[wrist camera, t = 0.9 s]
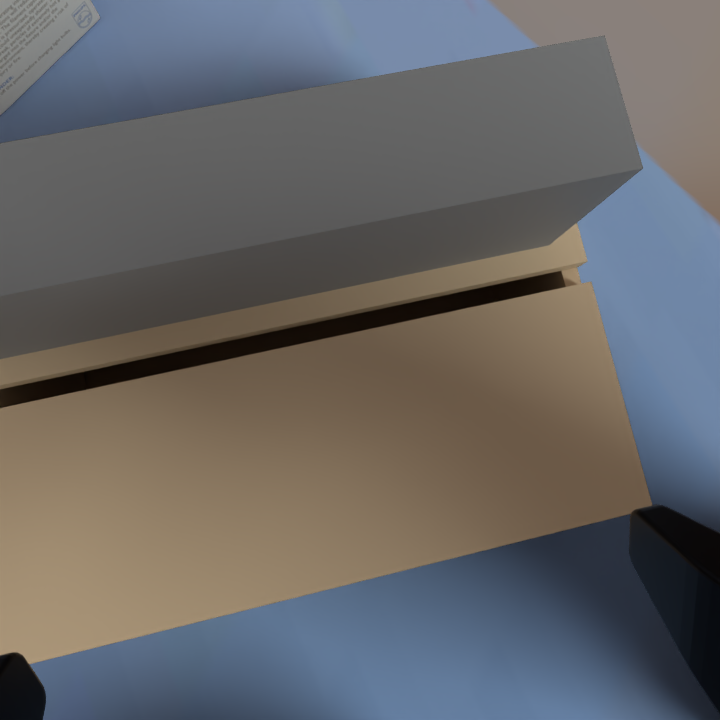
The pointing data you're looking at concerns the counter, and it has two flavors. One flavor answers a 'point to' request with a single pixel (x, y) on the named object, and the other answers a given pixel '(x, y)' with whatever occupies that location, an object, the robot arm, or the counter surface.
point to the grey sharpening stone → (302, 206)
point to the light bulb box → (37, 40)
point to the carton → (306, 461)
